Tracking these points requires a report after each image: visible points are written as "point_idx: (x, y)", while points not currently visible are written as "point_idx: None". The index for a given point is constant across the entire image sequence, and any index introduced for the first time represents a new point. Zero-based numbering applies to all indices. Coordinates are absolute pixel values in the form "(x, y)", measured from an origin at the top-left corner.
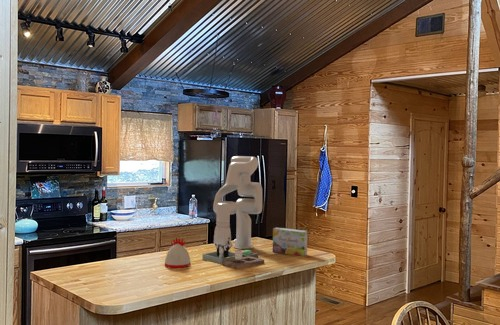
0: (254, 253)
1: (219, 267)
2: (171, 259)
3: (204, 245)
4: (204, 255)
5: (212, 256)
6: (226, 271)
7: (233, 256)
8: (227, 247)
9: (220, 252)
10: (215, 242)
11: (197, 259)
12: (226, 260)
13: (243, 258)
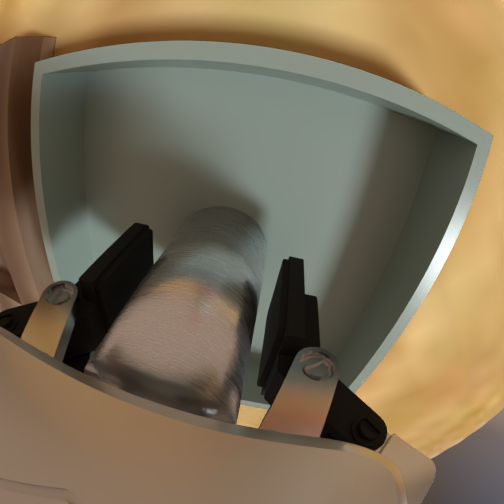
0: None
1: (72, 8)
2: None
3: (484, 422)
4: (448, 109)
5: (235, 54)
6: (3, 8)
7: (50, 260)
8: (10, 320)
9: (184, 263)
10: (320, 480)
11: (500, 146)
12: (53, 139)
13: (12, 268)
